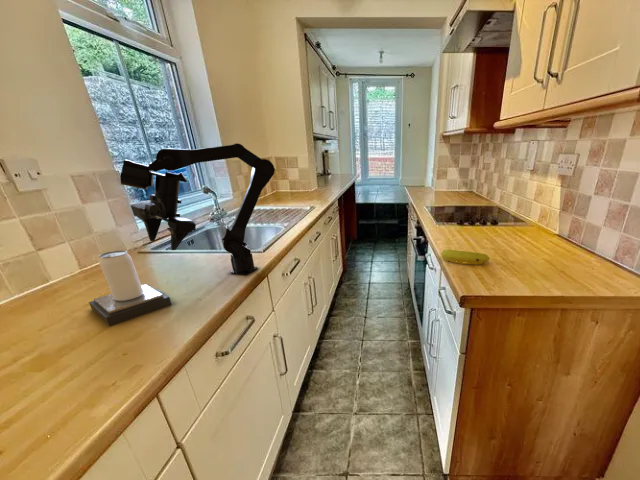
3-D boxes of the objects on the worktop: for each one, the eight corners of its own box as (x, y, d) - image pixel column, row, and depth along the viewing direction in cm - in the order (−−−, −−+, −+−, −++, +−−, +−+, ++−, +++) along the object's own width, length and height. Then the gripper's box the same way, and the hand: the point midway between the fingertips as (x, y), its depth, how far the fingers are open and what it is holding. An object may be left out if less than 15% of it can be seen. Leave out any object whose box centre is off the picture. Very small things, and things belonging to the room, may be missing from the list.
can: (148, 294, 86) (133, 252, 81) (119, 304, 81) (102, 259, 76) (137, 289, 89) (123, 248, 84) (110, 297, 84) (92, 254, 79)
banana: (494, 254, 112) (482, 248, 126) (446, 251, 112) (439, 245, 126) (492, 266, 113) (480, 259, 128) (444, 263, 113) (437, 256, 127)
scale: (153, 291, 95) (150, 284, 94) (173, 304, 88) (171, 296, 87) (92, 310, 85) (88, 302, 84) (109, 326, 77) (105, 317, 76)
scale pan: (146, 286, 93) (145, 284, 92) (163, 297, 86) (162, 294, 86) (94, 301, 84) (93, 298, 84) (109, 314, 78) (108, 311, 77)
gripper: (114, 182, 87) (112, 237, 92) (161, 199, 82) (157, 256, 86) (155, 187, 98) (151, 236, 102) (199, 202, 93) (194, 254, 97)
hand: (162, 245), depth 96 cm, fingers open, 9 cm apart
